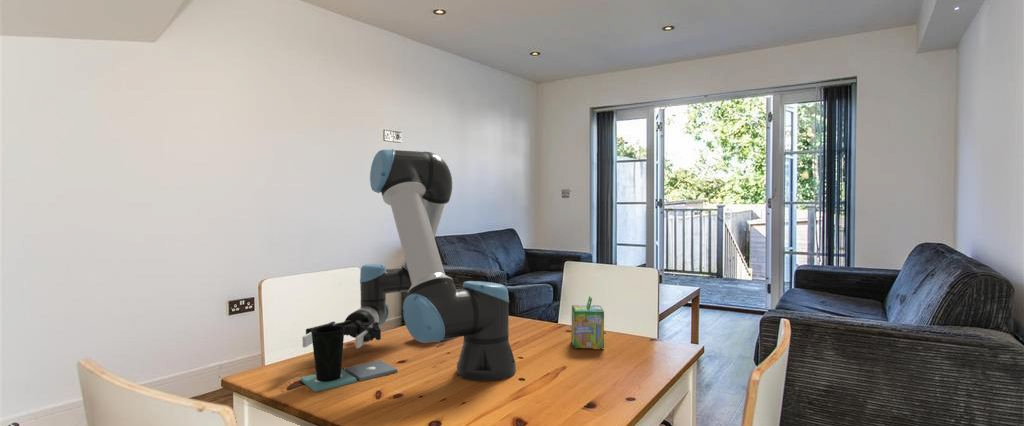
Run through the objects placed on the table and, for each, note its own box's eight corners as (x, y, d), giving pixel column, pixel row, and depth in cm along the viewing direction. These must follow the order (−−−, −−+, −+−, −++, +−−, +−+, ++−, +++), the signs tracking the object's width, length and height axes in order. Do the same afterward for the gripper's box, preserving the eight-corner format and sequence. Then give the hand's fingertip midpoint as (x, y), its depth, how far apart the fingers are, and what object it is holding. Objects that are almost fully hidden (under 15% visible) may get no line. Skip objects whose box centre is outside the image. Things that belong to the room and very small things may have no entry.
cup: (351, 375, 126) (351, 327, 125) (328, 385, 119) (327, 334, 118) (328, 371, 129) (328, 324, 129) (304, 380, 122) (304, 331, 122)
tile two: (356, 382, 123) (356, 378, 123) (315, 392, 117) (315, 388, 117) (340, 371, 131) (340, 368, 131) (301, 380, 124) (300, 377, 124)
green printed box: (571, 341, 159) (570, 294, 158) (600, 341, 158) (600, 294, 158) (573, 349, 149) (573, 300, 149) (604, 349, 149) (604, 300, 149)
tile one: (397, 372, 130) (397, 368, 130) (360, 381, 124) (360, 377, 124) (380, 362, 138) (380, 359, 138) (344, 370, 131) (344, 367, 131)
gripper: (403, 335, 146) (379, 358, 125) (320, 334, 147) (282, 356, 126) (403, 309, 146) (379, 327, 124) (320, 309, 147) (281, 326, 126)
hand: (330, 342), depth 125 cm, fingers open, 13 cm apart
